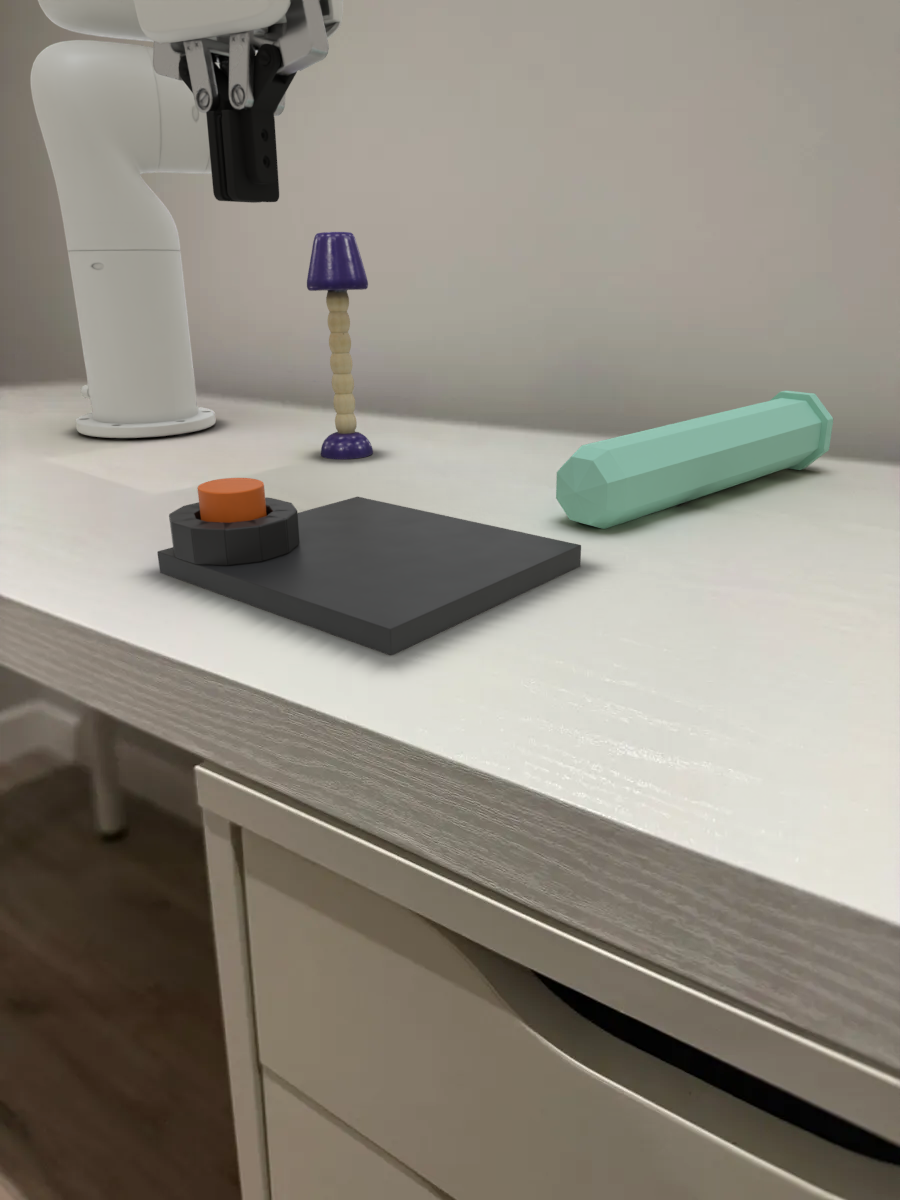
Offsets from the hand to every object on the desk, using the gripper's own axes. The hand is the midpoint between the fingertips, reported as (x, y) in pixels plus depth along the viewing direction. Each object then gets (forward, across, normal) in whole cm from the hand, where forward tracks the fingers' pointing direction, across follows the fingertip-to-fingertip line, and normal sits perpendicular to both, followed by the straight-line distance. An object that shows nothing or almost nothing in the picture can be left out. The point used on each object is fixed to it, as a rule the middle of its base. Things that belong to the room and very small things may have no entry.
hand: (247, 200), depth 46 cm
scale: (+17, -10, +4) cm, 20 cm away
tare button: (+15, -4, +7) cm, 17 cm away
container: (+18, -19, -20) cm, 33 cm away
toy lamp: (+18, +9, -19) cm, 28 cm away
